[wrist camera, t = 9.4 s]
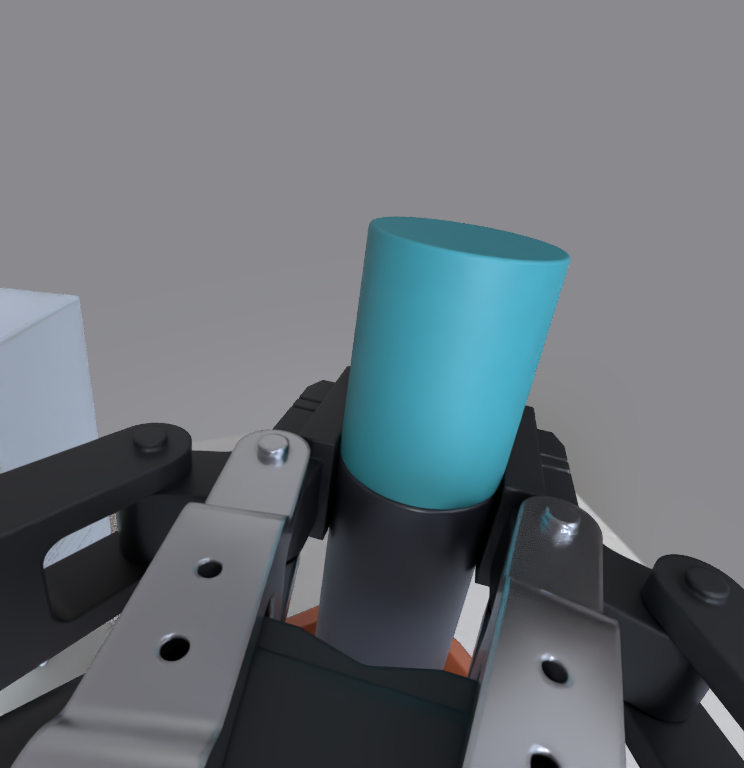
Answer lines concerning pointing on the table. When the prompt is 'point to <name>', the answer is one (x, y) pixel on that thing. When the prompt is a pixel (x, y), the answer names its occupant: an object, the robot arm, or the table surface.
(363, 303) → the marker pen
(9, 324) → the small box
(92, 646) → the table surface
